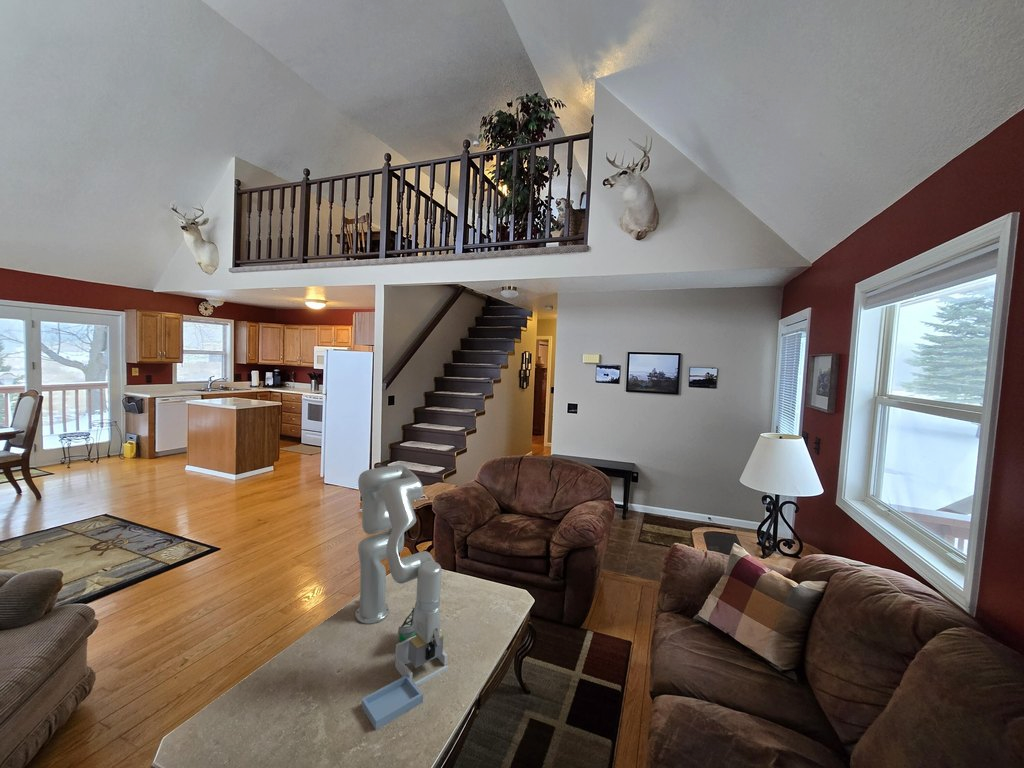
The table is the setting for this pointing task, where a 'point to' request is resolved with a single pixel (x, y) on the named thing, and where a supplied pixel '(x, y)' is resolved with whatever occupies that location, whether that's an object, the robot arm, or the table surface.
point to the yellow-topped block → (422, 650)
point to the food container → (407, 628)
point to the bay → (403, 659)
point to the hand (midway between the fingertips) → (425, 652)
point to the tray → (391, 701)
